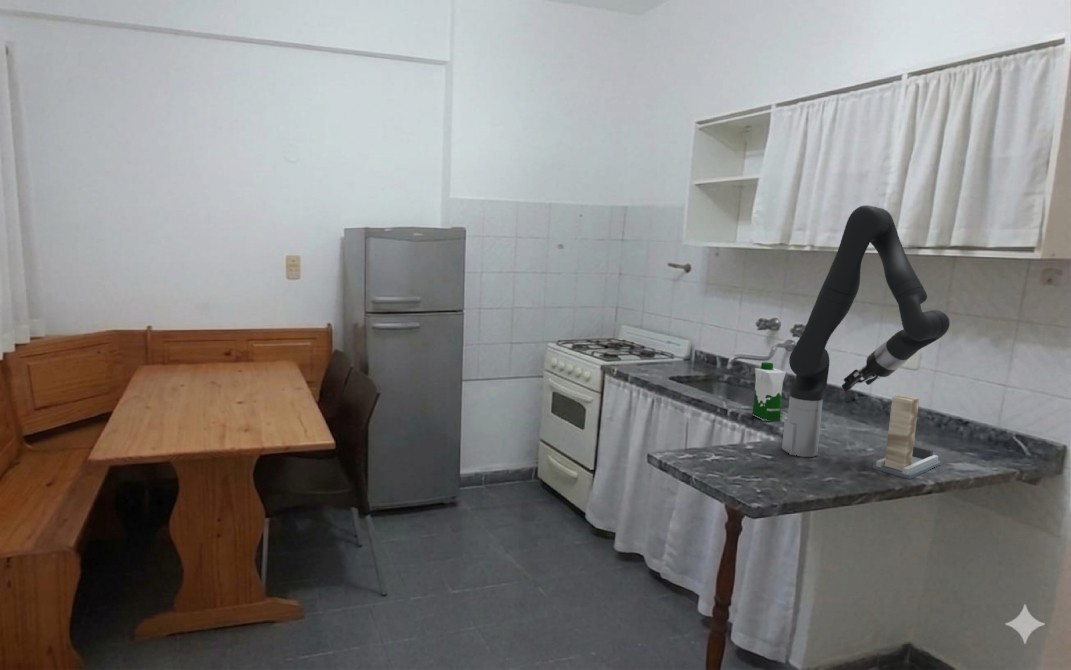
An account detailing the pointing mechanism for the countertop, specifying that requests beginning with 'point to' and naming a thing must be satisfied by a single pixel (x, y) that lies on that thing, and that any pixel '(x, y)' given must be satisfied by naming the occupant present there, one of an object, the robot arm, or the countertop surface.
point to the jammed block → (901, 432)
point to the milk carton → (768, 392)
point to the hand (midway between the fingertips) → (855, 385)
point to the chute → (912, 463)
